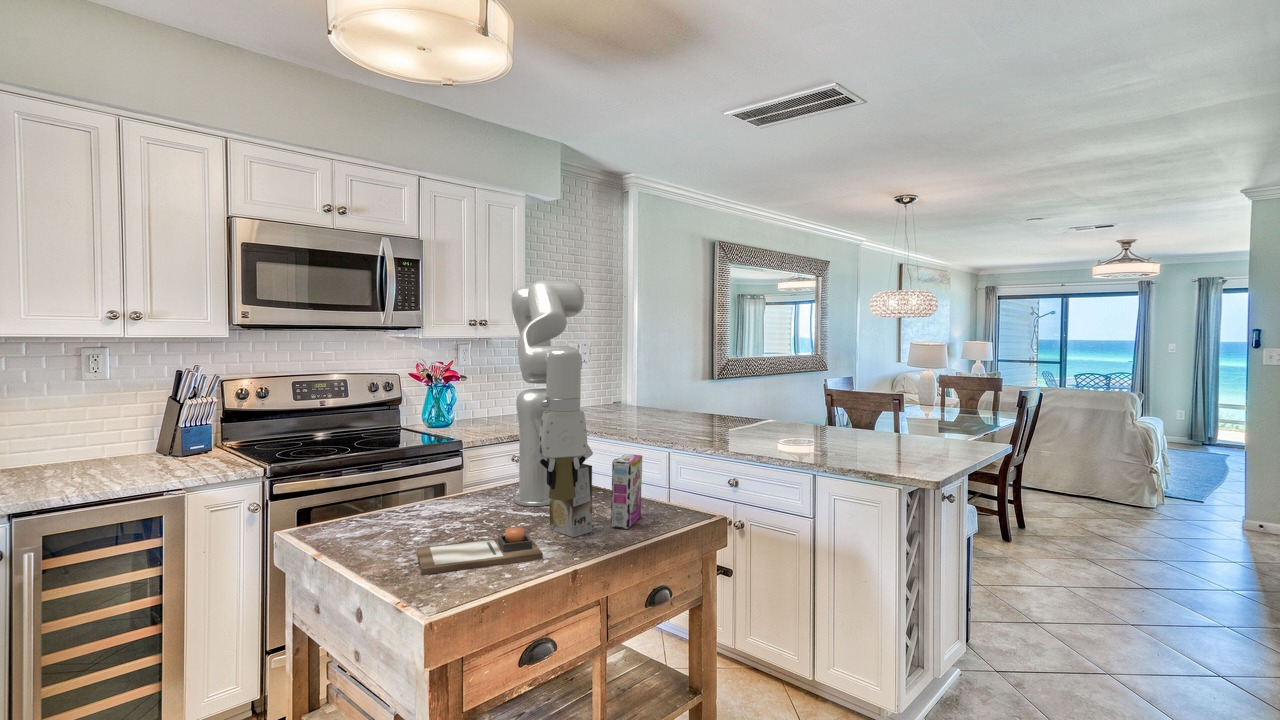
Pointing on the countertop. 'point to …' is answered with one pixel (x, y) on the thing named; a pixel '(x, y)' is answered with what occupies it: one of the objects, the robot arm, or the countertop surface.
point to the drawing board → (476, 554)
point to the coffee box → (574, 507)
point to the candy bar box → (626, 491)
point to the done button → (514, 534)
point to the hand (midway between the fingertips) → (562, 485)
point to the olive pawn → (563, 480)
